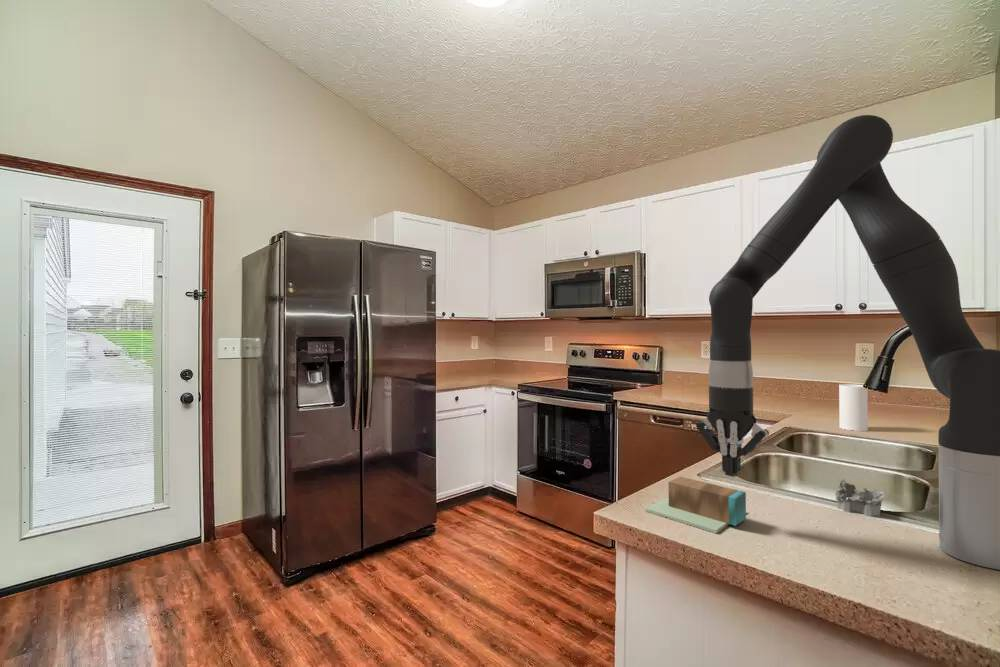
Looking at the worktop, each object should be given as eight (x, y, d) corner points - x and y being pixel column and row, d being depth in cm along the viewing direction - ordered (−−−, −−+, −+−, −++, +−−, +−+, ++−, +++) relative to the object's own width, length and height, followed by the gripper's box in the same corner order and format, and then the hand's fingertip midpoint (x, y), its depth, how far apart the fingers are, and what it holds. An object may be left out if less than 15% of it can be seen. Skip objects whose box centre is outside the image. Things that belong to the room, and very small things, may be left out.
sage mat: (745, 512, 91) (745, 509, 91) (716, 533, 81) (716, 530, 81) (678, 494, 101) (678, 491, 101) (645, 511, 92) (645, 508, 92)
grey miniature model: (841, 496, 99) (841, 478, 99) (886, 505, 94) (886, 486, 94) (832, 510, 92) (832, 489, 92) (880, 520, 87) (880, 499, 87)
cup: (842, 425, 171) (841, 383, 171) (869, 428, 165) (869, 385, 165) (837, 428, 166) (836, 385, 166) (865, 432, 160) (865, 387, 160)
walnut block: (745, 492, 86) (680, 476, 96) (735, 498, 83) (668, 481, 93) (745, 518, 86) (680, 499, 96) (735, 525, 83) (668, 506, 93)
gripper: (776, 385, 83) (777, 479, 83) (704, 380, 93) (704, 463, 93) (761, 388, 78) (762, 488, 78) (687, 383, 88) (688, 471, 88)
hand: (731, 475), depth 86 cm, fingers closed
